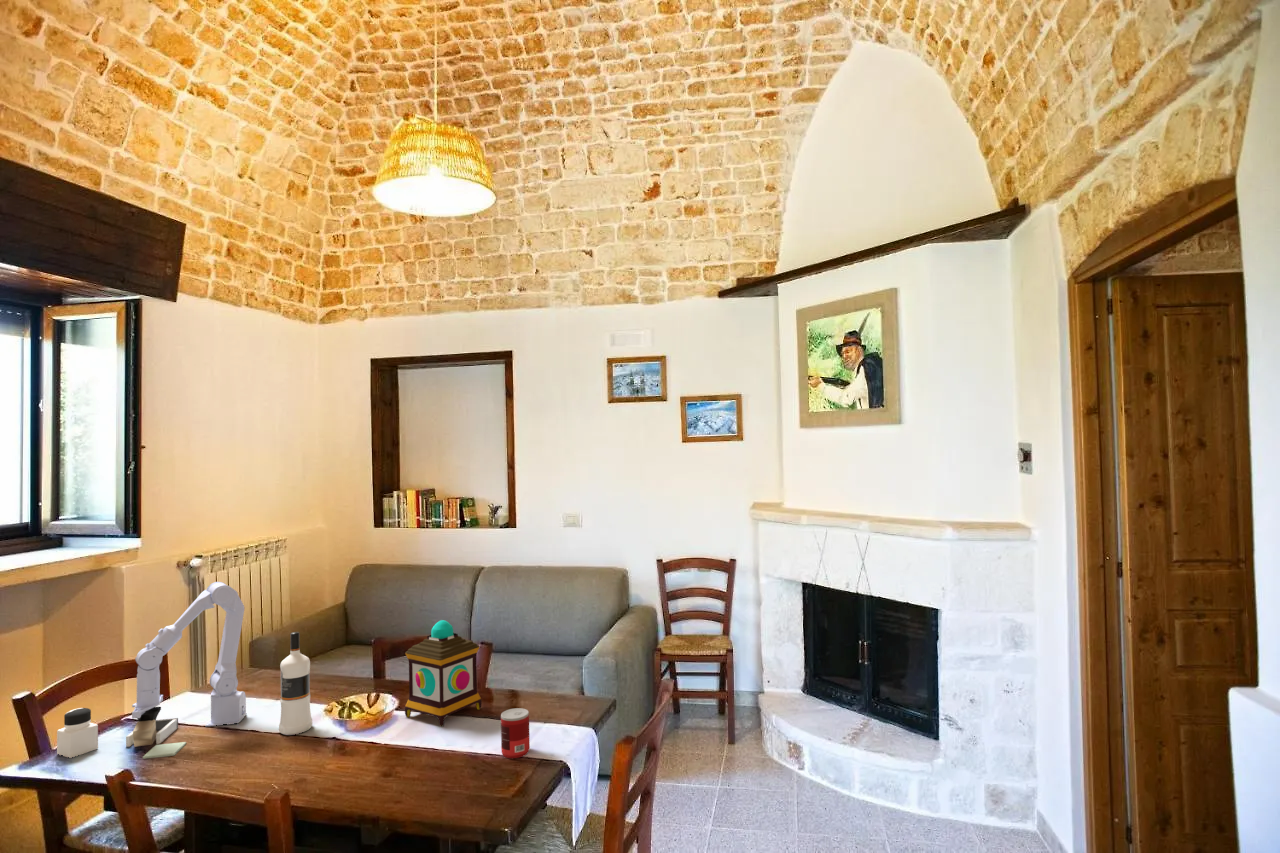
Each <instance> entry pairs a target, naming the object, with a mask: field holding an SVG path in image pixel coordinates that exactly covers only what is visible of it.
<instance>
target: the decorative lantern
mask: <svg viewBox="0 0 1280 853" xmlns="http://www.w3.org/2000/svg"><path fill="white" fill-rule="evenodd" d="M430 632H431V634H430V635H427V637H426V638H424V639H423V640H422V641H420V642H419V643H417V644H414V645H412V646H411V647H410V648H408V649H407V651H405V653H404V654H405V656H406V658H407V659H408V685H409V686H408V690H409V691H408V692H409V694H408V699H407V702H406V704H405V706H404V714H405V716H406V717H407V718H409V717H411V715H412V712H416V713H420V714H424V715H428V716H431V717H434V718H436V719H438V723H439V724H438V725H439V727H443V726H444V725H445V719H446V717H447V716H450V715H452V714H455V713H457V712H459V711H461V710H463V709H466V708H468V707H471V706H473V705H475V708H476V709H477V710H479V711H480V710H481V709H482V698H481V696H480V694H479V692H478V689H477V688H478V686H477V684H478V683H477V655H478V654H477V653H478V651H479V649H480V646H479V645H478V644H477V643H476V642H473V640H470V639H469V640H468V639H466V638H463V637H462V636H459V635H458V633H455V632H454V628H453V626H452V624H450V622H449V621H447V620H443V619H440V620H439V621H437V622H436V623H435V624H434V625H433V627H432V628H431V631H430Z"/></svg>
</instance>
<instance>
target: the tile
mask: <svg viewBox="0 0 1280 853" xmlns="http://www.w3.org/2000/svg"><path fill="white" fill-rule="evenodd" d="M186 745H187V741H182V742H172V743H163V744H161V743H160V744H155V745H154V746H153V747H152V748H151V749H150V750H148V752H146V754H144V755H143V756H142V759H143V760H144V759H154V758H164V757H165V758H166V757H171V756H173V757H174V756H176V755H177V754H178V753H179V751H181V750H182V749H183V748H184V747H185V746H186Z"/></svg>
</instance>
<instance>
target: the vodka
mask: <svg viewBox="0 0 1280 853" xmlns="http://www.w3.org/2000/svg"><path fill="white" fill-rule="evenodd" d="M289 635H290V639H289V640H290V652H289V653H290V654H289V655H288V656H286V657H285V658H284V659H283V660H282V661H281V662H280V665H279V666H280V667H279V668H280V699H279V701H280V720H279V724H278V731H279V732H280V734H282V735H284V736H294V735H295V734H296V735H300V734H302V732H303V733H306V732H308V731H309V729H311V728H312V726H313V718H312V713H311V691H310V686H311V685H310V684H311V683H310V681H311V680H310V672H311V669H310V668H311V661H310V658H309V656H306V655H305V654H304V653H303V654H302V652H301V651H300V650H301V649H300V645H301V644H300V637H301V636H300V632H299V631H293V632H290V634H289ZM299 733H300V734H299Z"/></svg>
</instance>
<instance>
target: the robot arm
mask: <svg viewBox="0 0 1280 853" xmlns="http://www.w3.org/2000/svg"><path fill="white" fill-rule="evenodd" d="M214 604H215V605H216V606H219V607H221V608H222V609H223V611H225V619H224V625H223V630H222V636H221V643H220V646H219V647H220V648H219V653H218V660H217V663H215V666H214V667H215V668H214V670H213V672H212V673H211V675H210V678H209V685H210V686H211V688H213V689H212V691H211V693H210V720H209V721H208V722H207V723H206V724H205V727H216V725H217V726H224V725H223V724H227V725H235V724H234V723H237V724H240V722H241V721H242V720H243V719H244V718H245V717H244V716H245V715H246V714H247V698H246V696H247V695H246V692H245V691H239V690H237V688H238V685H239V680H238V678H237V672H238V671H237V670H238V669H237V665H236V663H237V662H236V661H237V655H238V650H239V643H240V637H241V633H242V626H243V620H244V615H245V605H244V603H243V601H242V599H241V598H240V595H239V594H238V592H237V590H235V589H234V588H233V587H231V586H230V585H227V584H226V583H225V582H222V581H215V582H212V583H210V584H209V586H207V588H206V589H204V590H203V591H202V592H201V593H200V594H198V596H197V598H196V599H195V600H194V601H192V603H190V605H189V606H188V607H187V609H185V611H184V612H183V613H182V614H181V615H180V617H178V619H176V621H175V622H174V623H173V624H171V625H166V626H165V627H164V628H160V629H159V630H158V631H157V633H158V634H157V635H156V636H155V637H154V638H153V639H152V640H151V641H150V642H149V643H148V642H147V643H146V644H144V645H145V647H144V648H142V649H140V650H139V651H138V653H137V654H136V657H135V658H134V659H135V662H136V664H137V669H136V670H137V674H136V702H135V703H133V704H132V705H131V708H134V709H133V711H132V712H131V719H137V722H140V721H148V720H150V721H153V720H155V721H156V720H157V718H158V716H159V713H160V712H161V710H162V707H161V706H160V704H161V703H162V702H163V701H164V694H161V693H160V691H161V690H160V687H161V686H160V684H161V672H160V665H161V664H162V662H163V656H165V655H167V654H168V652H170V650H172V648H173V647H174V646H175V645H176V644H177V643H178V642H179V641H180V640H181V639H182V638H183V631H184V630H185V629H186V628H187V627H188V626H189V625H190V624H191V623H192V622H193V621H194V620H195V619H196V618H197V617H198V616H199V615H201V613H202V612H203V611H206V610H210V609H213V608H215V607H216V606H215V605H214ZM246 716H247V715H246Z"/></svg>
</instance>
